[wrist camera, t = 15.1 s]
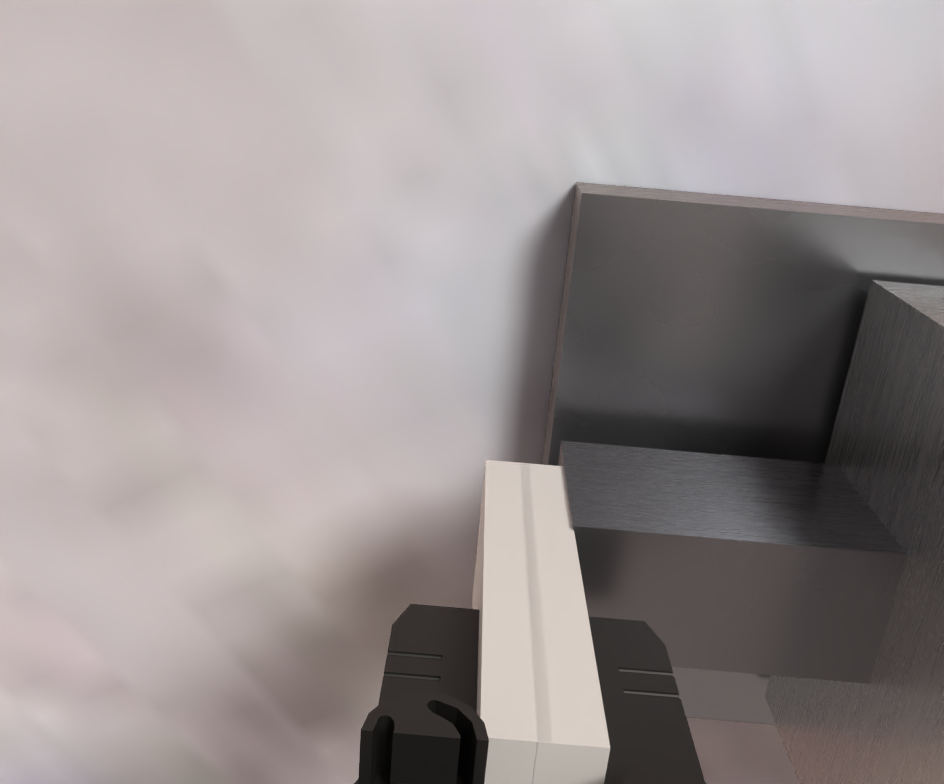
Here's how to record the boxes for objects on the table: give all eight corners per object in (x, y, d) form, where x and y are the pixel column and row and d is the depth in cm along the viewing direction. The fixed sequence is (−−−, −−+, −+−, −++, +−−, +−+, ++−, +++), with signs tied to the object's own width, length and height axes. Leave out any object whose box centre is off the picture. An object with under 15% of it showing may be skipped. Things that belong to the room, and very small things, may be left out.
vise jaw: (527, 674, 18) (540, 1005, 12) (581, 255, 15) (638, 410, 9) (878, 705, 18) (1073, 1051, 12) (1010, 291, 15) (1376, 474, 9)
